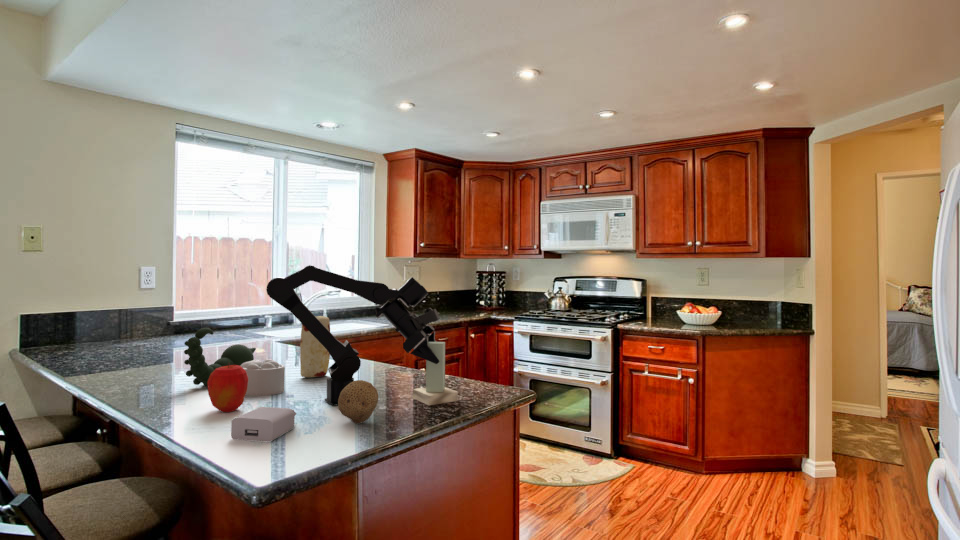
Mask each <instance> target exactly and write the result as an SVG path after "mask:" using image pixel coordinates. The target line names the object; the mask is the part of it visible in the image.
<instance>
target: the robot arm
mask: <svg viewBox="0 0 960 540" xmlns="http://www.w3.org/2000/svg"><path fill="white" fill-rule="evenodd" d="M308 282H314V283H318V284H321V285H325V286H329V287H332V288H335V289H339V290H342V291H346V292H350V293H351V294H355V296H356V295H357V296H358V297H361V298H362V299H364V300H367V301H369V302H370V303H373V304H375V305H382V306H381V307H375V318H376V319H380V318H381V317H382V316H384V317H385V319H386V320H388V322H389V323H390V324H391V326H393V327H394V328H395V329H394V331H395V332H396V333H400V334H401V335H402V337H404V339H405V340H404V341H403V343H402V348H403V350H404V351H405V353H407V354H409V353H410V355H413V356H416V357H419V358H421V359H423V360H425V361H426V360H428V361H430V362H432V363H435V364H438V363H439V360H438V358H437V357H436V355H435V354H434V352H433V351H432V349H431V348H430V346H429V345H428V342H437V340H436V330H435V328H434V326H432V325H431V323H436V322H437V321H439V320H441V318H440V316H439V311H437V309H436V308H434V309H432V308H431V307H428V308H425V309H424V313H423V314H421V315H418V316H417V315H416V313H411V312H410V311H409V309H408V308H410V307H412V308H415V307H416V306H417V305H418V304H419V303H420V302H422V300H424V298H425V297H427V296H428V295H429V292H428V291H427V289H426V288H425V286H423V285H422V284H420V283H419V282H418V281H417V280H416V279H415V278H414V277H413V276H411V277H409V278H408V279H407V280H406V282H404V283H403V284H402V285H401V286H400V287H399V288H398V289H397V288H392V289H391V288H389V286H388V285H386V284H385V283H382V282H375V281H368V280H367V281H365V280H361V279H359V280H358V279H355V278H351V277H348V276H344V275H341V274H338V273H335V272H331V271H328V270H325V269H322V268H317V267H315V266H314V265H311V264H309V265H306V266H304V268H302V269H300V270H298V271H296V272H294V273H292V274H290V275H288V276H285V277H282V276H281V277H274V278H272V279H271V280H269V282H268V283H267V285H266V288H265V289H266V293H267V295H268V298H270V299H272V300H273V301H275V302H276V303H277V304H279V305H280V306H281V307H283V308H284V309H286V310H287V311H289V312H290V313H291V314H292V316H294V317H295V318H296V319H297V320H298V321H299V323H300V324H301V325H302V324H303V325H304V326H305V327H306V328H307V329H308V330H309V331H310V333H311V334H312V335H313V336H314V337H315V338H316V339H317V340H318V341H319V342H320V343H321V344H322V345H323V346H324V347H325V348H326V349H327V351H328V352H329V354H330V358H332V360H333V362H334V363H333V364H331V366H330V367H328V373H329V376H330V378H326V398H324V399H323V400H324V402H326V403H328V404H329V405H331V406H338V399H339V396H340V393H341V391H342V390H343V389H344V388H345V387H346V386H347V385H348V384H350V383H351V382H353V381H355V379H354V378H355V377H354V374H356V373H357V372H358V371H359V370H360V367H361V364H362V363H361V362H362V361H361V358H360V357H359V355H360V353H359V351H358V350H357V349H356V348H353V346H352V345H351V344H350V342H349V341H348V340H347V339H346V340H345V341H344V343H343V342H342V341H340V340H338V339H337V338H336V337H335V336H334V334H332V332H331V331H330V332H329V330H328V329H327V328H326V327H325V326H324V325H323V324H322V323H321V322H320V321H319V320H318V319H317V318H316V316H315V314H314V313H313V312H312V311H311V310H310V309H309V308H308V307H307V306H306V304H304V303H303V301H302V300H301V298H300V297H299V296H298V293H297V291H296V290H295V289H297V288H299V287H302V286H303V285H305V284H307V283H308ZM392 299H393V300H392ZM389 300H392V301H391V302H390V301H389ZM403 304H404V305H403ZM405 306H406V307H407V308H406V307H405Z"/></svg>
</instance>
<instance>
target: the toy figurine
mask: <svg viewBox="0 0 960 540" xmlns="http://www.w3.org/2000/svg"><path fill="white" fill-rule="evenodd" d="M208 334H209V335H214V331H213V329H211V328H209V327H202V328H200V329H198V330H196V332H195V333H194V336H193V337H189V339H188V340H186V341H184V342H183V344H184V345H185V346H187V347H188V348H187V349H184V351H183V353H184V355H188V359H185V360H184V362H183V363H184V365H189V367H190V369H189V370H187V371H186V372H185V375H186V377H188V378H189V377H192V376H193V377H194V378H193V380H192V381H193V382H192V383H193V384H194V385H195V386H196V385H197V386H199V385H200V384H203V386H205V387H208V385H207V382H208V379H209V377H210V374H211V373H212V372H213V371H214V370H215V369H216V368H219V367H223V366H228V365H239V366H240V365H241V364H243V363H245V362H250V361H252V360H255V357H254V352H255V351H256V349H257V348H256V347H252V348H251V347H250V348H249V347H248V346H246V345H244V344H232V345H230V346H228V347H227V348H226V349H224V350H223V352H222V354H221V355H220V358H218V359H217V360H215V361H214V363H211V364H208V362H206V357H205V355H204V349H203V347H202V346H201V345H202V341H201V340H202V339H203V338H205V337H206V335H208ZM229 363H230V364H229Z"/></svg>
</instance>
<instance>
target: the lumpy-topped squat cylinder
mask: <svg viewBox="0 0 960 540" xmlns="http://www.w3.org/2000/svg"><path fill="white" fill-rule="evenodd" d="M240 366H241V367H242V368H243V369H244V370H245V371H246V372H247V376H248V387H247V392H246V395H245V396H271V395H278V394H282V393H284V392H285V369H286V367H285V365H284V364H280V363H279V362H278V361H276V360H273V359H271V358H267V359H265V360H264V361H261V360H259V359H254V360H252V361H250V362H245V363H243V364H241V365H240Z"/></svg>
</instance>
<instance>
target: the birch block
mask: <svg viewBox="0 0 960 540" xmlns="http://www.w3.org/2000/svg"><path fill="white" fill-rule="evenodd" d="M458 395H459V392H458V390H454V389H451V388H449V387H446V386H445V389H444V391H443V392H426V386H425V387H418V388H413V389H412V399H414V400H415V401H418V402H420V403H422V404H424V405H426V406H434V405H440V404H447V403H452V402H458V398H459V397H458Z"/></svg>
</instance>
